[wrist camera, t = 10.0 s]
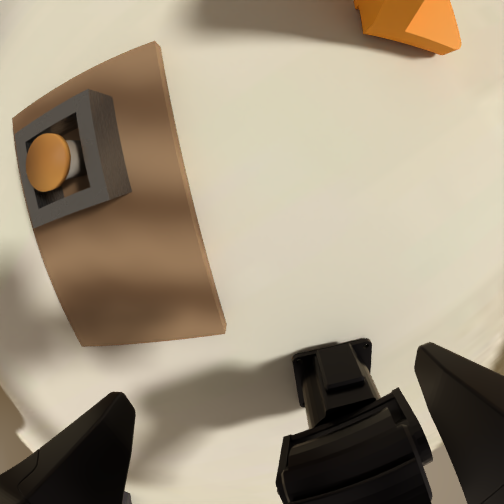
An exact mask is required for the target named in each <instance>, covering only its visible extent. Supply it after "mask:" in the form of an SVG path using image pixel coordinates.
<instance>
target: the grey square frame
mask: <svg viewBox="0 0 504 504" xmlns="http://www.w3.org/2000/svg"><path fill="white" fill-rule="evenodd" d="M76 128H78V129H79V135H80V140H81V146H82V151H83V156H84V161H85V166H86V170H87V175H88V179H89V183H90V188H87V189H84V190H82V191H79V192H77V193H74V194H72V195H70V196H67V197H65V198H64V194H63V189H62V185H61V186H59V187H58V188H56V189H54V190H50V191H46V192H42V191H38V190H37V189H35V188H34V187H33V186H32V185H31V183H30V181H29V179H28V177H27V173H26V157H27V153H28V150H29V148H30V146H31V144H32V143H33V141H34V140H35V139H36V138H37V137H38V136H40V135H42V134H46V133H54V134H59V135H61V136H63V135H65V134H67V133H68V132H70V131H72V130H74V129H76ZM14 135H15V144H16V151H17V158H18V164H19V169H20V175H21V180H22V185H23V189H24V194H25V198H26V202H27V206H28V210H29V214H30V218H31V221H32V225H33V228H36V227H38V226H41V225H43V224H46V223H48V222H51V221H53V220H56V219H58V218H61V217H63V216H66V215H69V214H71V213H74V212H77V211H79V210H82V209H85V208H88V207H91V206H93V205H96V204H99V203H102V202H105V201H108V200H111V199H114V198H116V197H119V196H122V195H125V194H128V193H130V192H132V189H131V185H130V181H129V177H128V173H127V169H126V164H125V160H124V156H123V151H122V146H121V141H120V136H119V131H118V126H117V121H116V115H115V109H114V103H113V97H112V96H109V95H106V94H103V93H100V92H97V91H94V90H90V89H87V90H85V91H83V92H81V93H79V94H77V95H75V96H73V97H72V98H70V99H68V100H66V101H65V102H63V103H61V104H59V105H58V106H56V107H54V108H53V109H51V110H49V111H48V112H46V113H45V114H43V115H42V116H40V117H38V118H37V119H35V120H34V121H32V122H31V123H29V124H28V125H27V126H25V127H24V128H22V129H21V130H20V131H18V132H17V133H15V134H14Z"/></svg>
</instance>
